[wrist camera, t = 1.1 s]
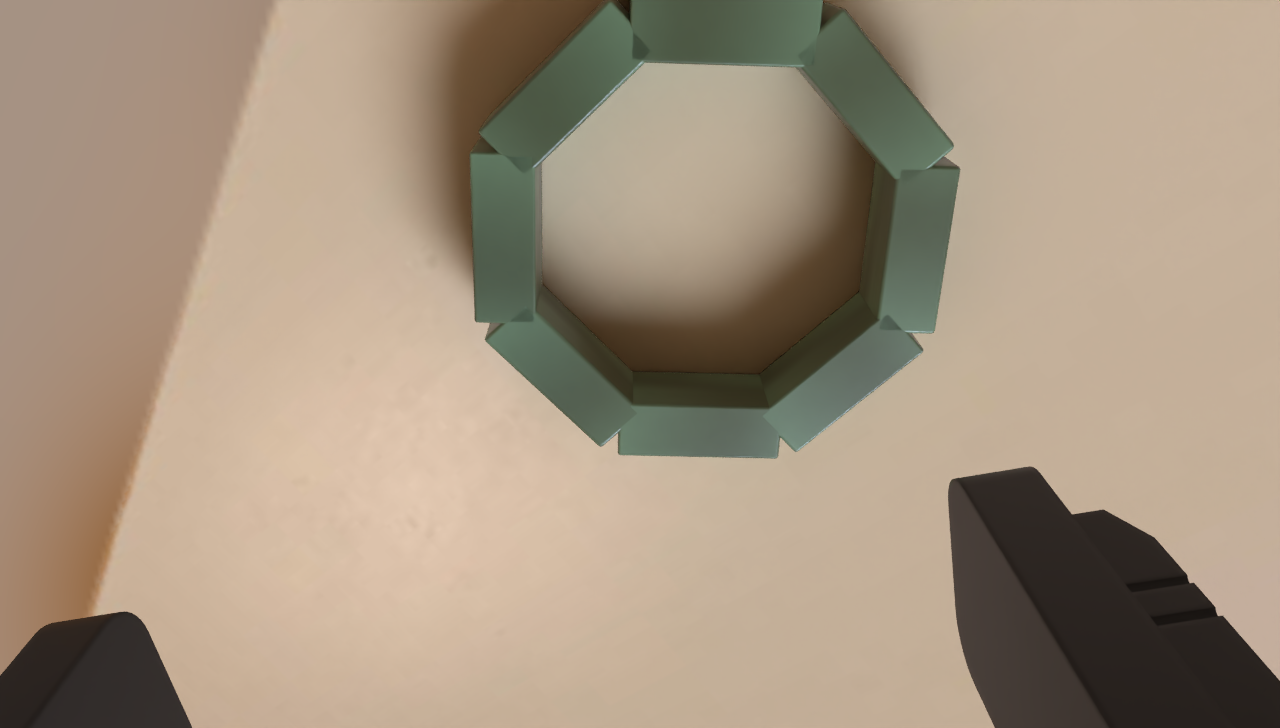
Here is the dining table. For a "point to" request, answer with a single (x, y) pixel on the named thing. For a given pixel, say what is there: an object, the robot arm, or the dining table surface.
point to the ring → (825, 358)
